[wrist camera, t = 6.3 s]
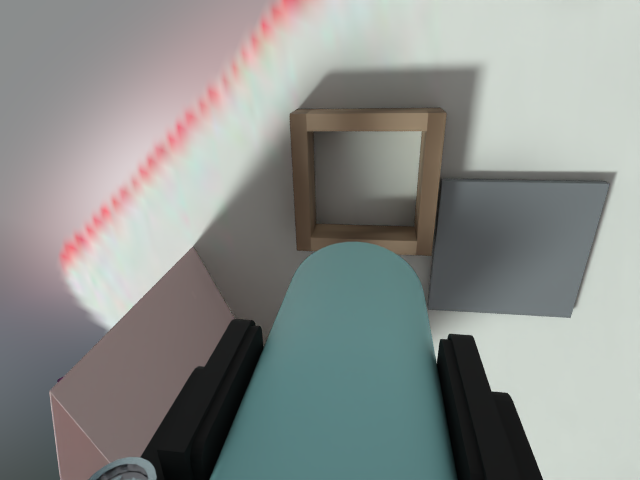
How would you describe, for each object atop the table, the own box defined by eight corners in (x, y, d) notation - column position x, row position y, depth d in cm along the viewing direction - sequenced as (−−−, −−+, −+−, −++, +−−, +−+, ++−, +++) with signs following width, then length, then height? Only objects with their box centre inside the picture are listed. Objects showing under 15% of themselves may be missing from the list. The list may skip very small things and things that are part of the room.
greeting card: (182, 243, 31) (30, 386, 18) (273, 267, 31) (190, 430, 17) (174, 351, 36) (52, 527, 23) (252, 373, 36) (176, 563, 22)
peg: (430, 244, 12) (572, 773, 3) (419, 361, 14) (485, 901, 5) (285, 239, 13) (54, 665, 4) (292, 351, 15) (150, 814, 6)
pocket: (440, 107, 24) (446, 112, 22) (427, 240, 28) (431, 255, 26) (297, 109, 25) (289, 114, 23) (303, 235, 29) (297, 250, 27)
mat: (604, 181, 25) (609, 183, 24) (566, 312, 29) (570, 317, 28) (441, 178, 26) (442, 181, 26) (427, 304, 30) (428, 309, 30)
